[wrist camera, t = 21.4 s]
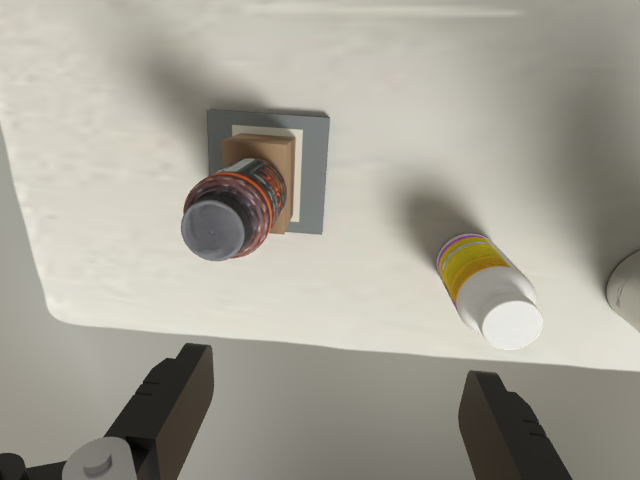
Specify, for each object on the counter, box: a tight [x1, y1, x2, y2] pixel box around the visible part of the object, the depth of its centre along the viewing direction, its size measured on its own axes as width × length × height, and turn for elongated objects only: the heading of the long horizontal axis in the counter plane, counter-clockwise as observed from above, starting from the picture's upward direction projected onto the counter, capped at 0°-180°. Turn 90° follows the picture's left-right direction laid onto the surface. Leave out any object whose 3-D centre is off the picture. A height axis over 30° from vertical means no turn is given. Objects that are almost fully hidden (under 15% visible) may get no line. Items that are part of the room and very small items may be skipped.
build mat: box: [207, 110, 330, 235], centre depth 40 cm, size 12×12×1 cm
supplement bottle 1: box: [181, 158, 287, 261], centre depth 29 cm, size 6×6×11 cm
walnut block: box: [222, 133, 296, 234], centre depth 37 cm, size 6×8×6 cm
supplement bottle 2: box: [437, 233, 543, 350], centre depth 36 cm, size 7×7×13 cm
